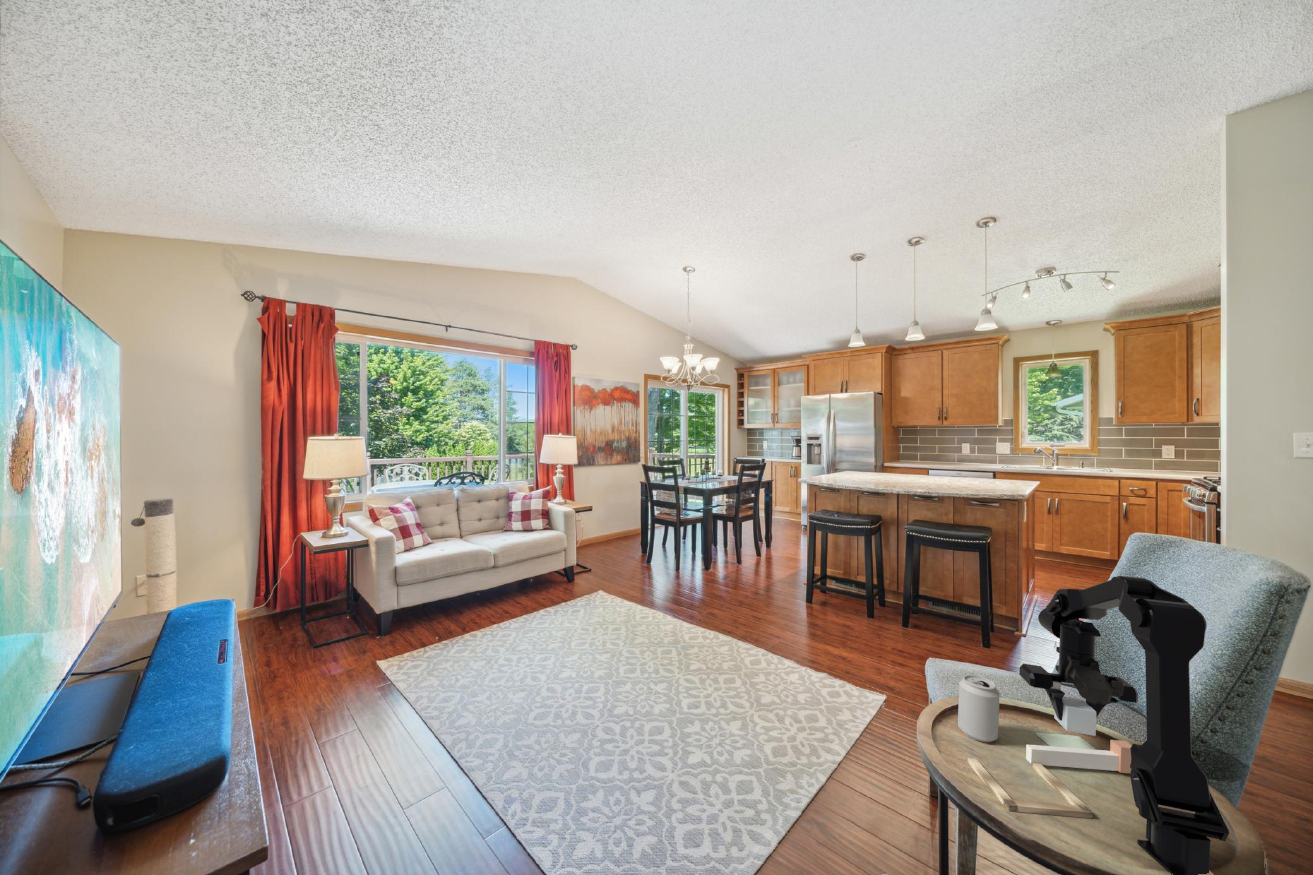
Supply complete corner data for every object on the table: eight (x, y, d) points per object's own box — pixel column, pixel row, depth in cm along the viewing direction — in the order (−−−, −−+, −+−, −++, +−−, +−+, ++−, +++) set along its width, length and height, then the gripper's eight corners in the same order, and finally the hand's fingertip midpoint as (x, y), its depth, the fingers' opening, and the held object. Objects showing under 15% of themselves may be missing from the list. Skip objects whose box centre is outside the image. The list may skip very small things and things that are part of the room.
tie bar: (1136, 773, 94) (1137, 748, 94) (1032, 765, 95) (1033, 740, 95) (1125, 765, 96) (1126, 740, 96) (1024, 757, 98) (1025, 733, 98)
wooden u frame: (1093, 818, 83) (1093, 812, 83) (1008, 811, 84) (1009, 805, 84) (1040, 768, 95) (1040, 763, 95) (967, 762, 96) (967, 757, 96)
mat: (1114, 765, 97) (1114, 763, 97) (1067, 761, 98) (1067, 759, 98) (1078, 737, 106) (1078, 735, 106) (1036, 734, 107) (1036, 732, 107)
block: (1081, 722, 103) (1082, 699, 103) (1095, 735, 99) (1096, 711, 99) (1054, 717, 105) (1055, 695, 105) (1066, 730, 100) (1067, 707, 100)
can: (1004, 747, 102) (1006, 691, 102) (966, 741, 103) (968, 686, 103) (988, 726, 109) (989, 674, 109) (952, 721, 110) (953, 670, 110)
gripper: (1044, 658, 97) (1041, 734, 97) (1159, 674, 91) (1156, 755, 91) (1019, 636, 107) (1017, 705, 107) (1120, 650, 102) (1118, 722, 102)
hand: (1074, 721), depth 102 cm, fingers closed on block, 5 cm apart
